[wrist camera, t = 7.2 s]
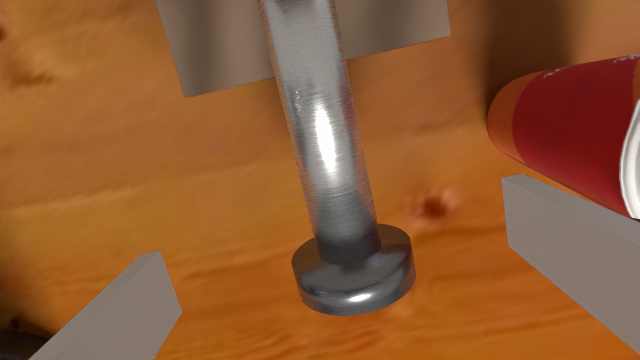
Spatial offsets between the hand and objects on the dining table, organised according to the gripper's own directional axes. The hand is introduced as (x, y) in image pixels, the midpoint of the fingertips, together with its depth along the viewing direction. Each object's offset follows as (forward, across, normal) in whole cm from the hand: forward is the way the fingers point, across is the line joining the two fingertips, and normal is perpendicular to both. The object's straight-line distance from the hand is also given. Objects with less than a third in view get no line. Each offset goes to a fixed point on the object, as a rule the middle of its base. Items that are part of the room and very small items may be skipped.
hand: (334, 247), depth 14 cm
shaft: (+6, +1, +6) cm, 8 cm away
